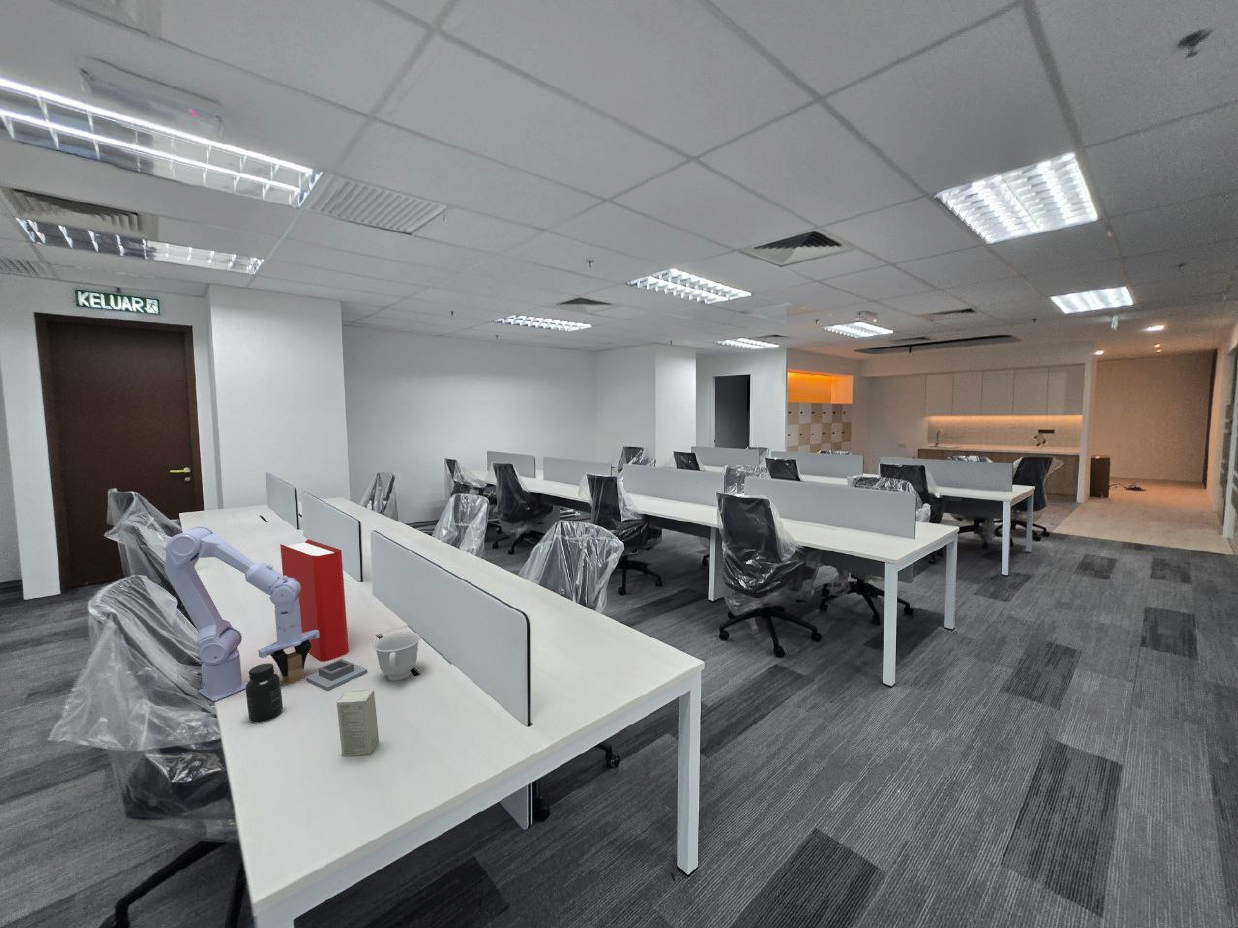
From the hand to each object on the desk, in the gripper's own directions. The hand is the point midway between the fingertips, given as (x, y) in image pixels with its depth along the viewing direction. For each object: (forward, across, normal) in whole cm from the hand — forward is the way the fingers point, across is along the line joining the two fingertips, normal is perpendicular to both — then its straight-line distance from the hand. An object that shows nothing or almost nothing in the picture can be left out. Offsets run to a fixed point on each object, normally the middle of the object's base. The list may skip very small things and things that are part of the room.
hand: (292, 672), depth 137 cm
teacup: (+2, +15, -25) cm, 29 cm away
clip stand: (+2, +7, -9) cm, 12 cm away
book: (+2, +15, +16) cm, 22 cm away
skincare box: (+2, -8, -45) cm, 46 cm away
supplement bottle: (+2, -12, -12) cm, 17 cm away
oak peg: (+2, 0, 0) cm, 2 cm away
